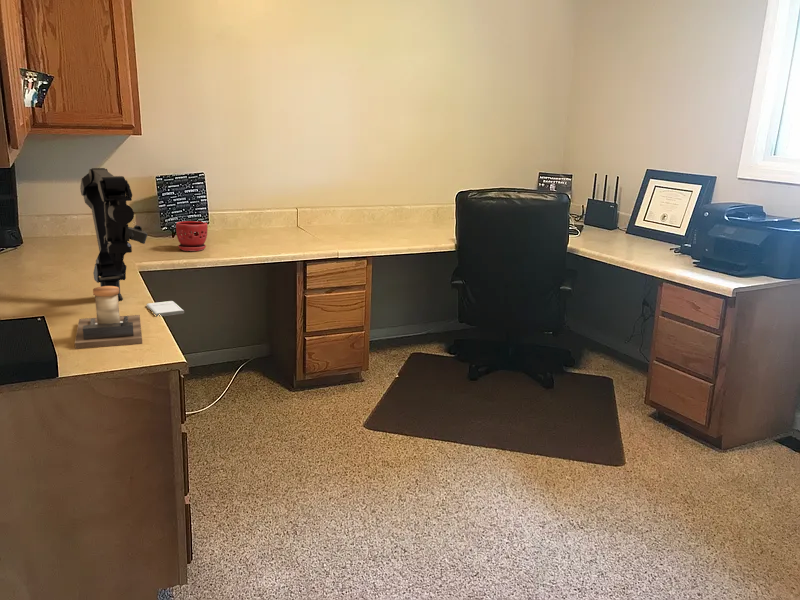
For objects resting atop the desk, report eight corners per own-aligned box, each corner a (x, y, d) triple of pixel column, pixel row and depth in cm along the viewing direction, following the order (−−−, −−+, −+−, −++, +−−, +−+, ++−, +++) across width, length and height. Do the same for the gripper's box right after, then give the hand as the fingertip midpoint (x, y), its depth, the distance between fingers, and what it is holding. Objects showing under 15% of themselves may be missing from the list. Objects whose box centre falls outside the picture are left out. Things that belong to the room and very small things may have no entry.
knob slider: (95, 326, 187) (92, 286, 184) (123, 324, 189) (120, 285, 186) (94, 334, 180) (91, 292, 177) (123, 332, 183) (120, 291, 180)
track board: (79, 323, 194) (79, 318, 194) (140, 319, 200) (139, 314, 199) (75, 348, 174) (74, 343, 174) (142, 343, 180) (142, 337, 180)
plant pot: (207, 252, 296) (206, 224, 293) (175, 252, 293) (174, 224, 290) (209, 246, 308) (208, 220, 305) (178, 246, 306) (177, 220, 302)
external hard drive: (156, 318, 203) (146, 308, 214) (184, 315, 208) (173, 305, 218) (156, 313, 203) (146, 303, 213) (184, 310, 207) (173, 300, 217)
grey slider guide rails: (86, 321, 191) (85, 311, 191) (132, 318, 196) (131, 308, 195) (83, 339, 177) (82, 328, 176) (133, 336, 181) (132, 325, 180)
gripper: (148, 223, 197) (151, 276, 201) (140, 214, 213) (143, 263, 217) (106, 224, 192) (110, 278, 196) (101, 215, 208) (105, 265, 213)
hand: (119, 271), depth 206 cm, fingers closed
